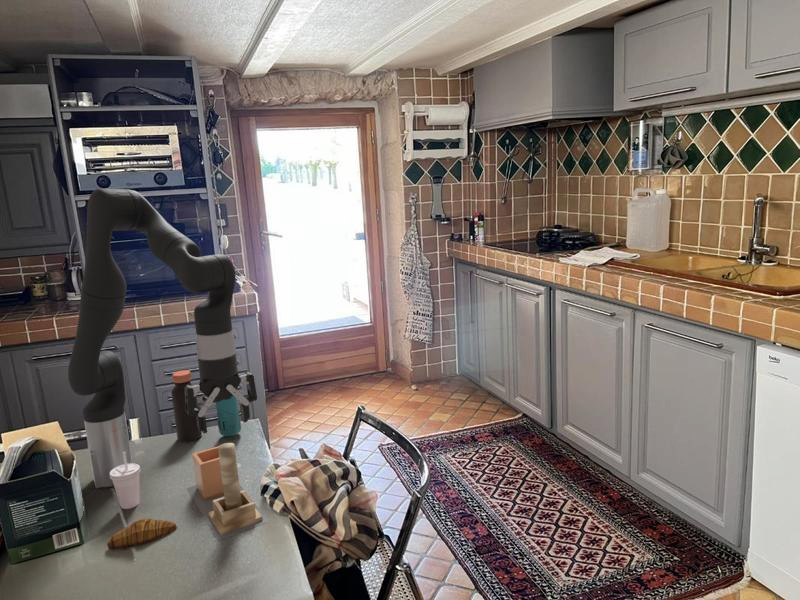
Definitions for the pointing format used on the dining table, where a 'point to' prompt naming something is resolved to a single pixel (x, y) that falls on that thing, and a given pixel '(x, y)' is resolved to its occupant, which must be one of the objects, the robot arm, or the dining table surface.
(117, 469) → the smoothie
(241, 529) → the slate board
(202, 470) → the deep cup
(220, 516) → the short stand
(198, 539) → the dining table surface
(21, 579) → the dining table surface
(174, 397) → the vinegar
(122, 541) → the croissant
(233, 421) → the beverage bottle
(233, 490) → the dowel
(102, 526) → the dining table surface
